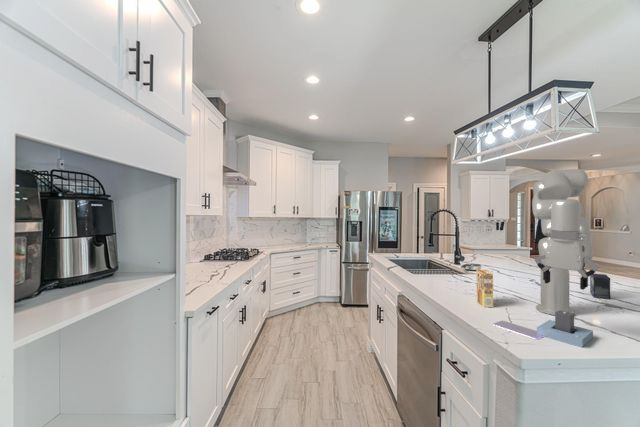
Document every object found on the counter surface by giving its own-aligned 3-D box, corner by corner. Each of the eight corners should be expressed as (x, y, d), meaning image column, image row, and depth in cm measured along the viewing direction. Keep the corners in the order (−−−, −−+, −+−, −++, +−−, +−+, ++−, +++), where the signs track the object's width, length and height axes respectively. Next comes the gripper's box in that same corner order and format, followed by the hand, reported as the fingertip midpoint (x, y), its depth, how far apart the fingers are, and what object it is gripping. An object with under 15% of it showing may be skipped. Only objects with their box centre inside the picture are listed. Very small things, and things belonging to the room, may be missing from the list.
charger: (559, 332, 102) (559, 309, 102) (574, 336, 99) (574, 312, 99) (555, 335, 100) (555, 311, 100) (569, 339, 97) (570, 315, 97)
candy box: (493, 307, 129) (493, 273, 129) (483, 307, 129) (483, 272, 129) (485, 301, 138) (485, 269, 137) (475, 301, 138) (476, 269, 138)
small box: (589, 292, 153) (589, 272, 153) (606, 294, 149) (606, 274, 149) (592, 297, 144) (592, 276, 144) (611, 299, 140) (611, 278, 140)
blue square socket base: (549, 326, 108) (549, 319, 108) (592, 337, 98) (593, 329, 98) (536, 334, 101) (536, 326, 101) (582, 347, 91) (582, 338, 91)
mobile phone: (536, 338, 96) (491, 323, 109) (536, 341, 96) (491, 325, 109) (547, 333, 100) (502, 319, 113) (547, 336, 100) (502, 322, 113)
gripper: (602, 237, 94) (601, 289, 95) (539, 233, 108) (538, 278, 109) (596, 238, 90) (595, 293, 91) (530, 234, 104) (530, 282, 105)
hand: (564, 285), depth 100 cm, fingers open, 9 cm apart
